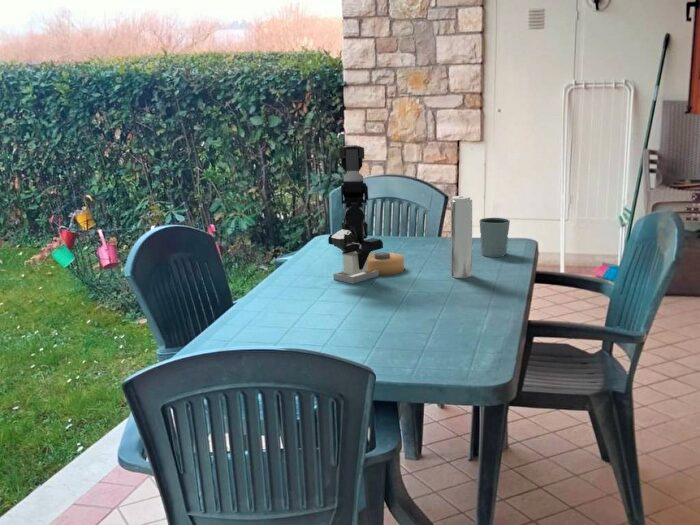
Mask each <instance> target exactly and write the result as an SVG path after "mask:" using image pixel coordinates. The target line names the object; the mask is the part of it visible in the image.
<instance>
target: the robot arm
mask: <svg viewBox="0 0 700 525" xmlns="http://www.w3.org/2000/svg"><path fill="white" fill-rule="evenodd" d="M338 154H339V155H338V156H339V158H338V160H339V161H341V168H342V169H343V170H344V171H345V173H346V174H344V175H343V177H342V183H340V192H341V193H340V194H341V204H342V205H344V213H343V220H341V229H340V230H338V231H337V232H335V233H333V234H329V236H328V238H327V239H328V240H327V241H328V245H333V246H334V247H337V249H340V250H341V251H342V254H341V255H343V254H346V253H350V252H354V251H356V252H357V253H358V262H359V269H360V270H361V269H363V267H364V264H365V262H366V260H367V258H368V256H369V254H371V253H372V252H374V251H378V250H381V249H384V242H383V240H382V239H380V238H374V237H371V238H368V236H369V234H368V232H369V231H368V230H369V229H368V228H369V226H368V222H366V221H367V220H366V219H365V212H364V204H366V203H367V201H368V200H369V186H368V185H367V183H366V182H364V175H362V174H361V173H360V170H361V169H362V167H363V160H365V147H363V146H361V145H357V144H354V145H353V144H351V145H350V144H349V145H345V146H344V145H342V147H339V148H338Z"/></svg>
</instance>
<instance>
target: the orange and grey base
mask: <svg viewBox="0 0 700 525" xmlns="http://www.w3.org/2000/svg"><path fill="white" fill-rule="evenodd" d="M404 270H405V256H404V255H402V254H399V253H396V252H395V253H394V252H383V251H382V252H375V253H370V254H369V256H368V271H364V272H361V273H358V274H354V275H351V274H346V273H344V270H342V271H339V272H338V271H337V272H334V273H333V280H335V281H340V282H345V283H349V284H356V283H360V282H363V281H364V282H365V281H367V280H370V279H373V278H377V277H379V276H389V275H396V274H399V273H402V272H404Z"/></svg>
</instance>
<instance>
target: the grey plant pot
mask: <svg viewBox="0 0 700 525" xmlns="http://www.w3.org/2000/svg"><path fill="white" fill-rule="evenodd" d="M510 222H511V221H510V220H509V219H508V218H502V217H485V218H481V219H479V233H480V254H482V255H481V256H483V257H486V256H489V257H488V258H498V257H497V256H502V257H504V256H503V255H505V256H506V255H507V249H508V248H507V247H508V246H507V245H508V239H509V236H508V235H509V230H510Z"/></svg>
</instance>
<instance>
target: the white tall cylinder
mask: <svg viewBox="0 0 700 525" xmlns="http://www.w3.org/2000/svg"><path fill="white" fill-rule="evenodd" d="M450 276H451V277H452V278H455V279H468V278H469V279H470V278H471V277H472V276H473V199H471V196H468V195H454V196H452V197H451V199H450Z"/></svg>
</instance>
